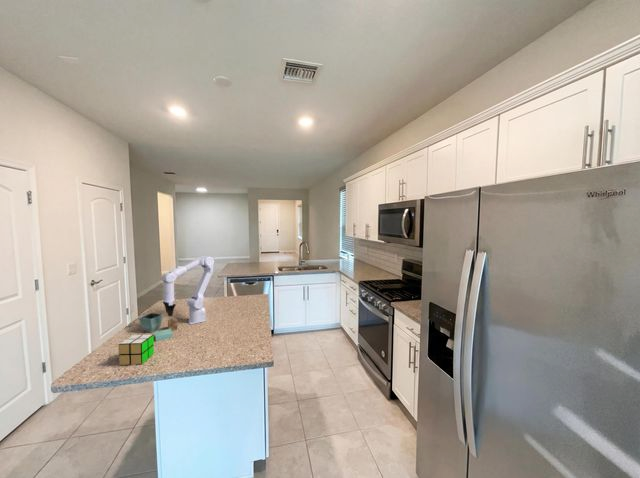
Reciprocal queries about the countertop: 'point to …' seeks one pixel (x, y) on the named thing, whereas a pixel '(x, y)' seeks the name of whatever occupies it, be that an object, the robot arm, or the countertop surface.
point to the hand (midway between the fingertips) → (169, 314)
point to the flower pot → (151, 322)
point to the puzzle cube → (136, 349)
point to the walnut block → (172, 324)
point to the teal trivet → (163, 335)
